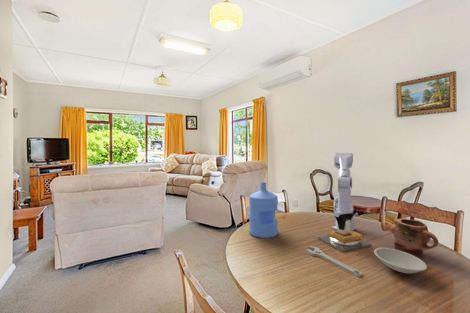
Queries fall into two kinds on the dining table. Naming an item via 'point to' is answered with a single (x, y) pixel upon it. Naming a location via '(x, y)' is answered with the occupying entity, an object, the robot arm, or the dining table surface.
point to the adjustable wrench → (332, 260)
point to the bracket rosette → (345, 241)
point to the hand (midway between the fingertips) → (343, 228)
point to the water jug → (263, 213)
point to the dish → (400, 260)
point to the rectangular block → (345, 228)
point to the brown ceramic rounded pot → (412, 236)
